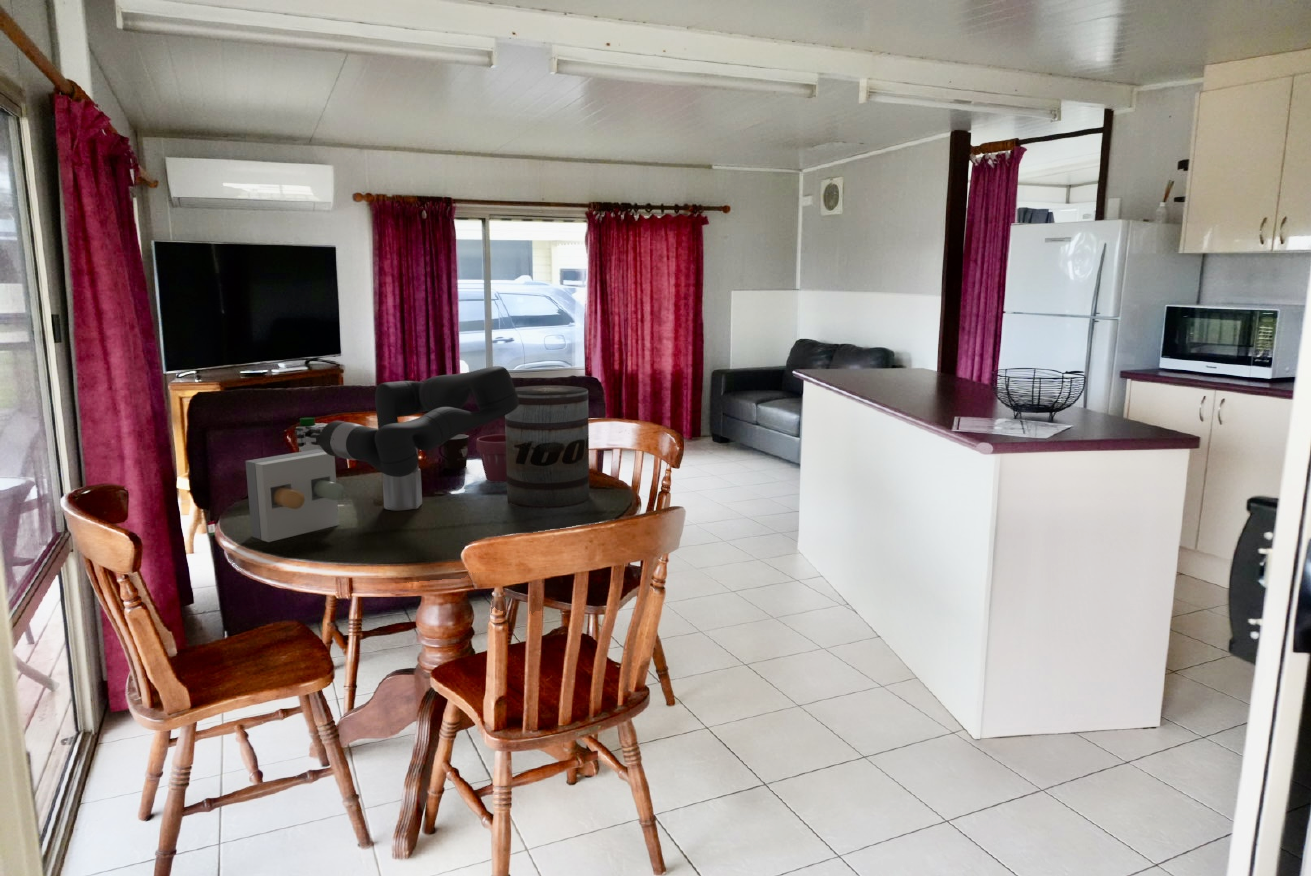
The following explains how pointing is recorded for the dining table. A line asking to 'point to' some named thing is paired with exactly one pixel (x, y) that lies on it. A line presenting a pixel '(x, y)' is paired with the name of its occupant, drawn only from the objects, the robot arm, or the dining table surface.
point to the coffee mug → (455, 452)
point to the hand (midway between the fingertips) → (302, 431)
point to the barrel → (548, 447)
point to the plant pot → (493, 456)
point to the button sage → (329, 490)
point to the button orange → (289, 498)
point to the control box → (295, 475)
